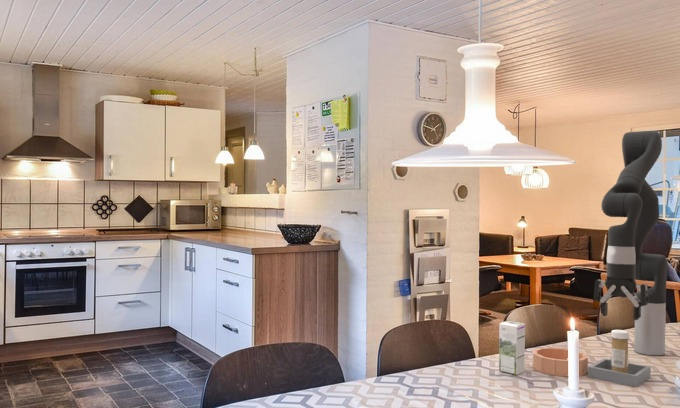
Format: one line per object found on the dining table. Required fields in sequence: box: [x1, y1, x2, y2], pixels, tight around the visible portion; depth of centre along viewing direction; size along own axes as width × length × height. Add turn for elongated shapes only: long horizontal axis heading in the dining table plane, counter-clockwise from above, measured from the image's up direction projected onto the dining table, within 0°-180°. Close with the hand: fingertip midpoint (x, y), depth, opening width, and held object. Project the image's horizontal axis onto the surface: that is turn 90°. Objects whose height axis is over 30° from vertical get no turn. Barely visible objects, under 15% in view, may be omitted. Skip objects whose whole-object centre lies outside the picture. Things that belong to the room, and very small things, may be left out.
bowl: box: [531, 346, 589, 377], centre depth 179 cm, size 15×15×4 cm
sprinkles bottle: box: [610, 329, 630, 373], centre depth 171 cm, size 5×5×14 cm
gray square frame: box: [587, 357, 652, 388], centre depth 171 cm, size 13×13×3 cm
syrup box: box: [498, 320, 526, 376], centre depth 175 cm, size 6×6×14 cm
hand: (620, 317), depth 171 cm, fingers open, 8 cm apart
